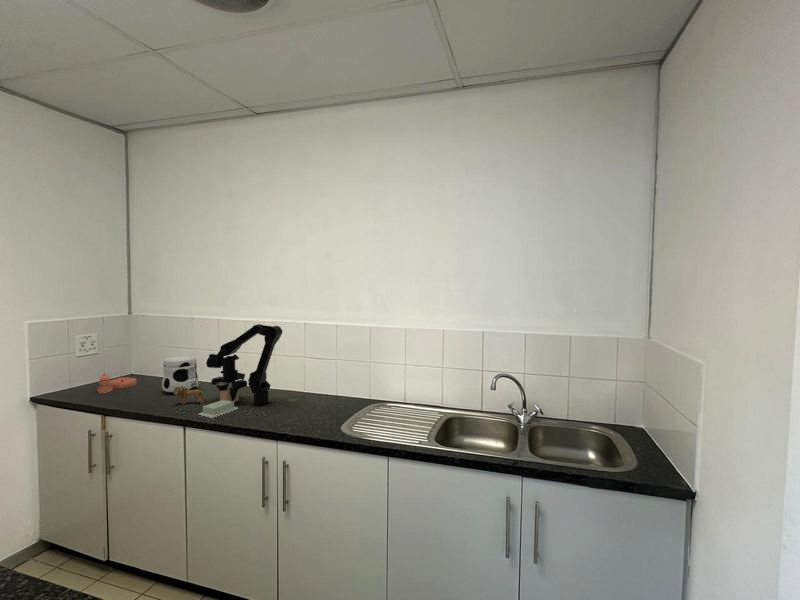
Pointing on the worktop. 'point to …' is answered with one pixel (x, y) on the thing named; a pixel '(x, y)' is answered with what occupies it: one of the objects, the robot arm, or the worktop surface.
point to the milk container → (180, 373)
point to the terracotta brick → (228, 395)
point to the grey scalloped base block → (218, 408)
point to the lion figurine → (188, 394)
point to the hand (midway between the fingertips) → (229, 399)
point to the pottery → (114, 383)
